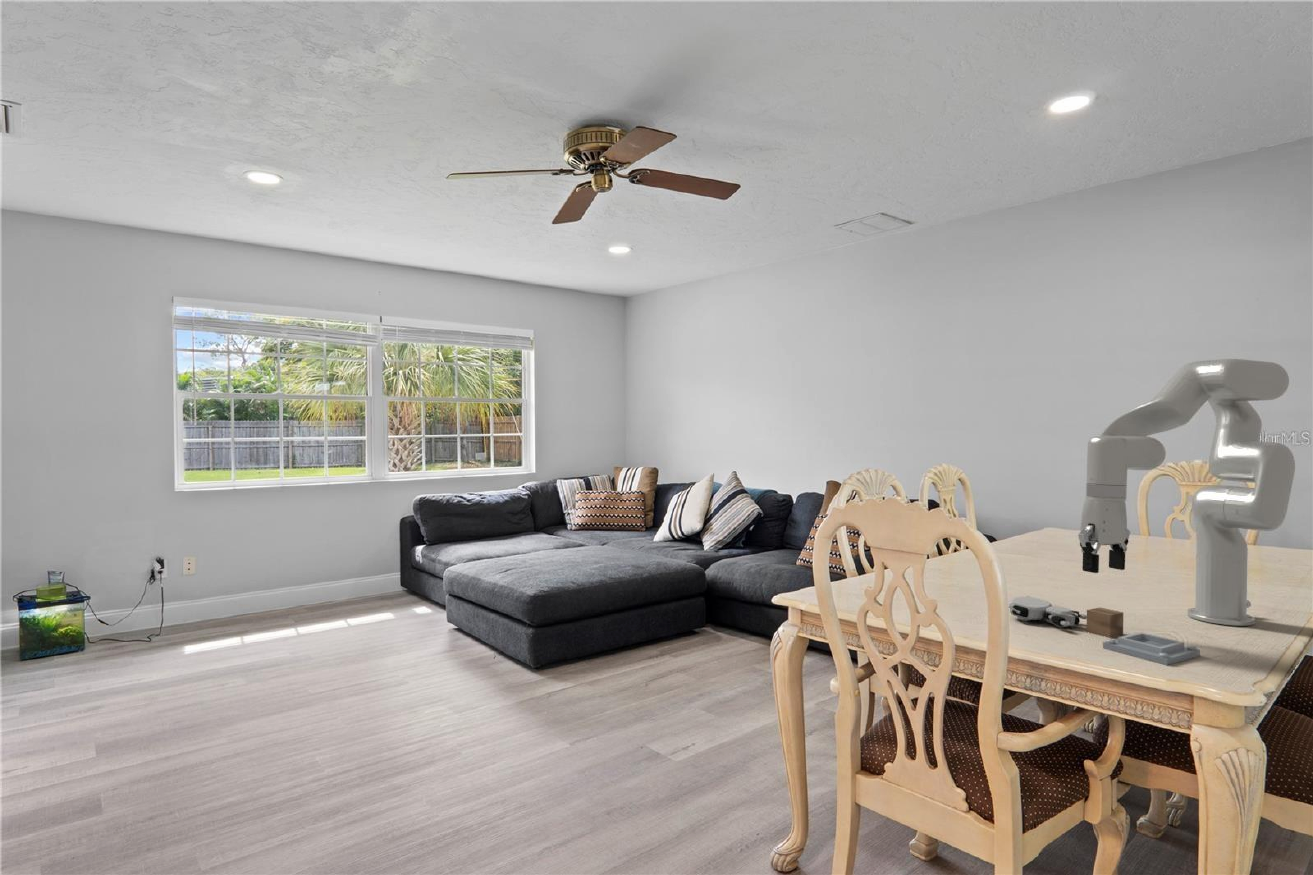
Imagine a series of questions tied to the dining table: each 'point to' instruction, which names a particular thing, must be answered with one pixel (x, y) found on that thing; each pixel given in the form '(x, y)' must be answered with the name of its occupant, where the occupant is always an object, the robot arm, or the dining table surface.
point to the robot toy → (1044, 612)
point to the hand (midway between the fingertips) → (1103, 570)
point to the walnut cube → (1105, 622)
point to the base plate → (1152, 648)
